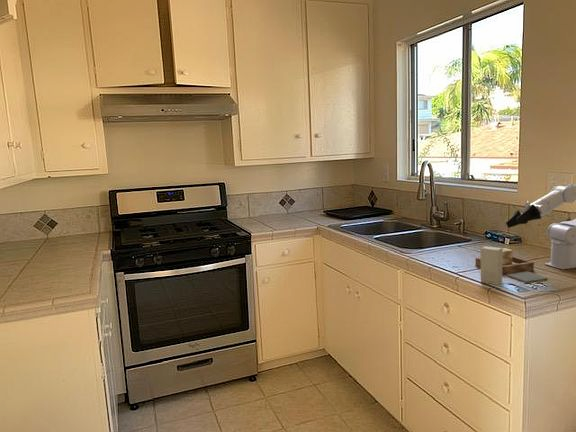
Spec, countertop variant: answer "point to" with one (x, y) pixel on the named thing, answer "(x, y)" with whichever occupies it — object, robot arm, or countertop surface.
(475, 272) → the countertop surface
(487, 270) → the skincare box
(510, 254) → the maple block
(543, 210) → the robot arm
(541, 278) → the mat
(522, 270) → the slot box
